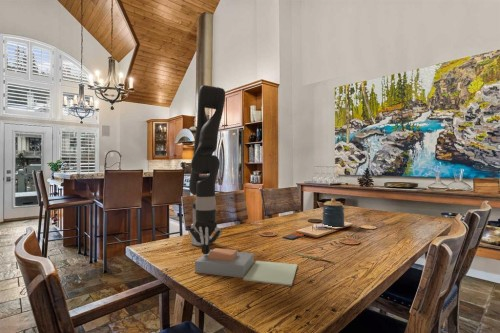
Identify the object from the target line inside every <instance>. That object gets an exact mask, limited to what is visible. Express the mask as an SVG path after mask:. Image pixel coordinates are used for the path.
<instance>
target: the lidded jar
mask: <svg viewBox="0 0 500 333" xmlns="http://www.w3.org/2000/svg"><path fill="white" fill-rule="evenodd" d="M323 205H324V206H322V207H321V208H322V213H321V214H322V223H321V224H324V225H328V226H332V227H344V228H345V212H344V210H345V207H344V203H342V202H341V201H336V198H334V197H332V198H331V200H327V201H325V202H323Z"/></svg>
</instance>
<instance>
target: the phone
mask: <svg viewBox="0 0 500 333" xmlns="http://www.w3.org/2000/svg"><path fill="white" fill-rule="evenodd" d="M297 232H298V231H296V232H294V233H290V234H287V235H284V236H282V239H284V240H289V241H295V240H297V239H300V238H303V237H305V236H304V235H303V234H299V233H297Z"/></svg>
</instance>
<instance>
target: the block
mask: <svg viewBox="0 0 500 333" xmlns="http://www.w3.org/2000/svg"><path fill="white" fill-rule="evenodd" d="M211 250H212V251H211V252H209V259H220V260H230V261H232V260H233V259H234V258H235V257H236V256H237V252H238V250H237V249H230V248H229V249H228V248H217V247H216V248H213V249H211Z"/></svg>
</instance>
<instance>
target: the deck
mask: <svg viewBox="0 0 500 333" xmlns="http://www.w3.org/2000/svg"><path fill="white" fill-rule="evenodd" d="M212 250H213V249H210V252H211V251H212ZM254 263H255V252H243V251H242V252H241V251H237V256H236V257H235V258H234V259H233V260H232V261H230V260H220V259H209V253H208V254H202V255H201V256H200V257H199V258H197V259H195V261H194V273H196V274H197V273H198V274H207V275H215V276H225V277H231V278H232V277H233V278H241V279H243V278H244V277H245V276H246V274H247V273H248V272H249V270H250V269H251V267H252V266H253V265H254Z"/></svg>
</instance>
